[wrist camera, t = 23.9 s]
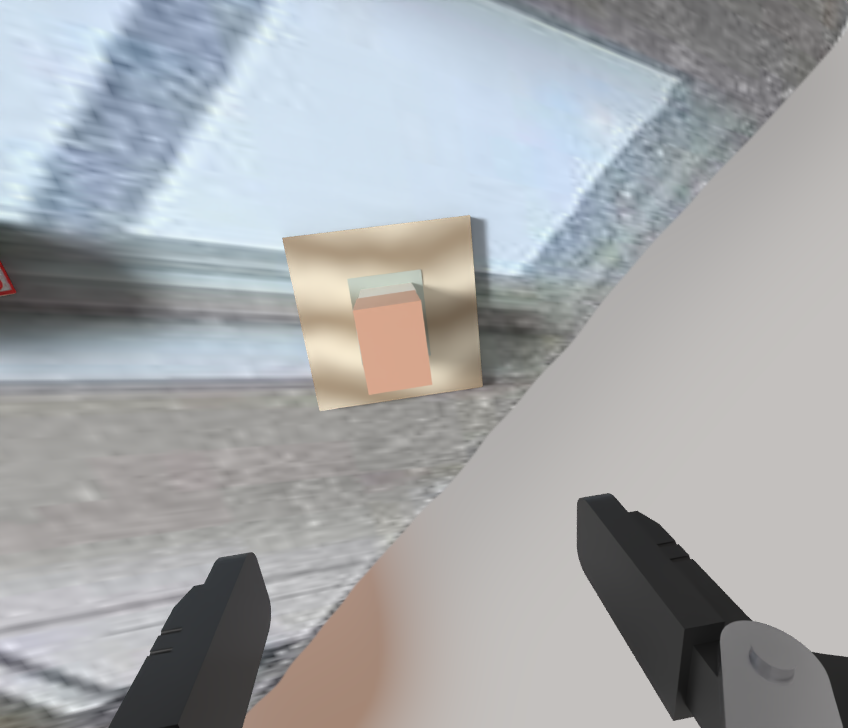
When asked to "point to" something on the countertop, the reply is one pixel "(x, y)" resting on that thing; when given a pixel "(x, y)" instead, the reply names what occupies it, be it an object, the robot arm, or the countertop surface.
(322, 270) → the ash board
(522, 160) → the countertop surface
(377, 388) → the terracotta brick
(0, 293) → the stack of blocks
